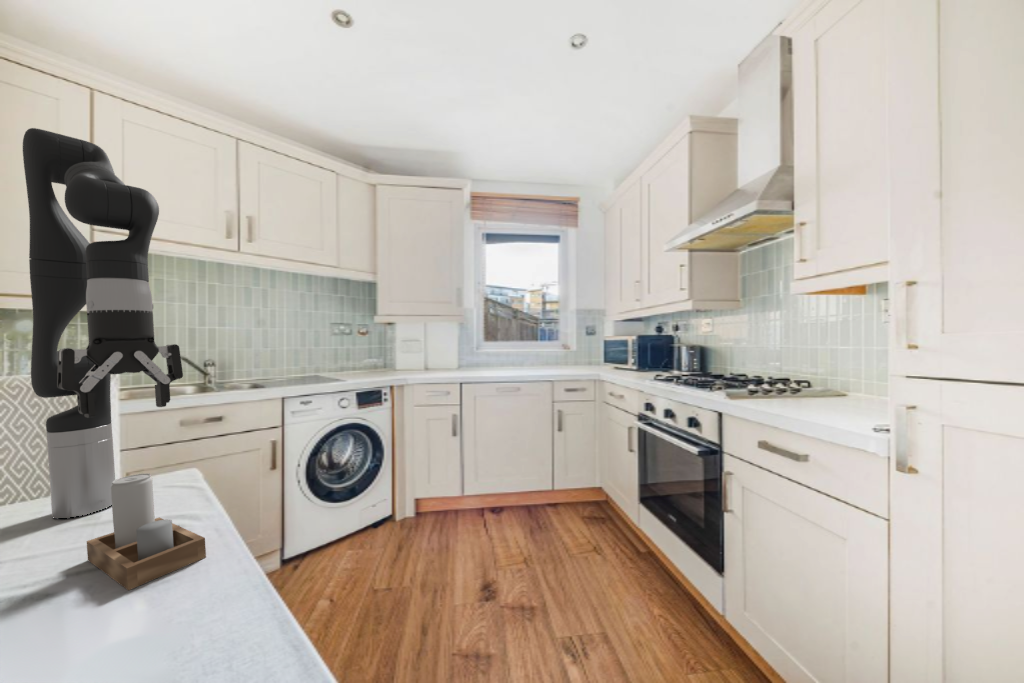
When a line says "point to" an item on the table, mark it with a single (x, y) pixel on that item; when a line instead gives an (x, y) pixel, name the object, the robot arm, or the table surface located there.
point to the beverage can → (131, 506)
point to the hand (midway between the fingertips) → (127, 411)
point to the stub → (154, 538)
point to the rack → (134, 572)
